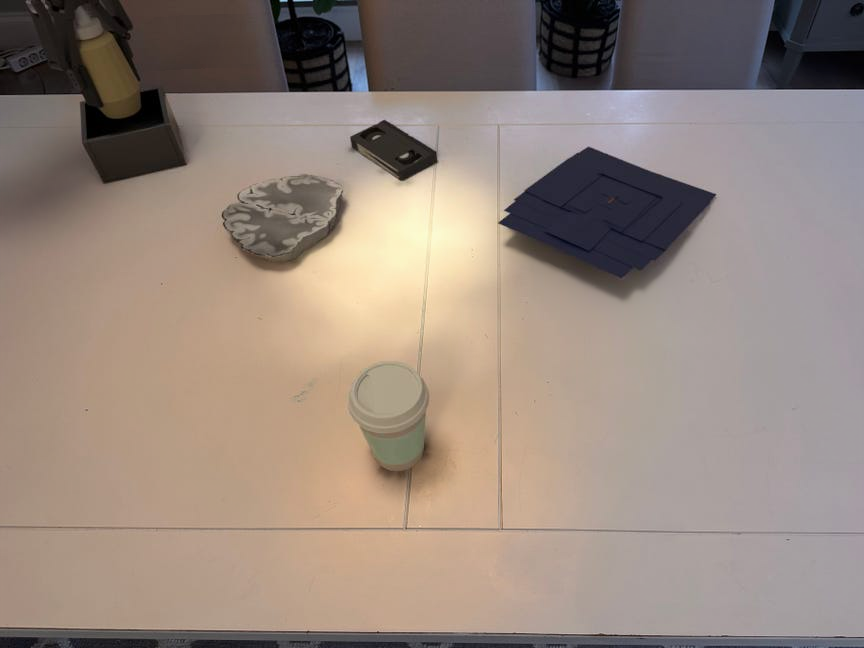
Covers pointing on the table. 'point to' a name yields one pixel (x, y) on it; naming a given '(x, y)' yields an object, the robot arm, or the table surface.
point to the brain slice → (283, 215)
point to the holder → (133, 138)
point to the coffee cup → (391, 412)
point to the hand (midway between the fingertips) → (114, 92)
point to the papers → (606, 211)
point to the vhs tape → (393, 150)
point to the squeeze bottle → (106, 67)
